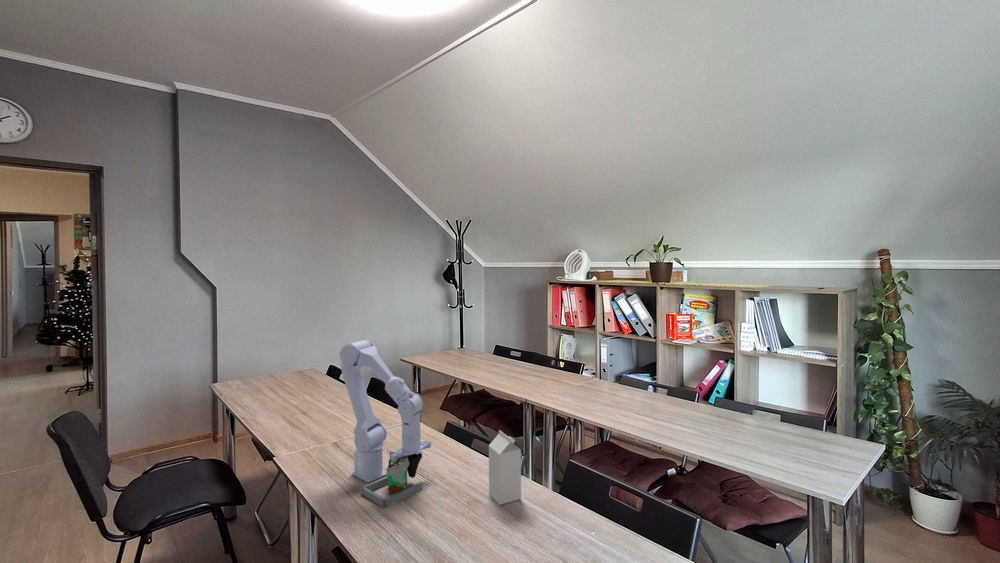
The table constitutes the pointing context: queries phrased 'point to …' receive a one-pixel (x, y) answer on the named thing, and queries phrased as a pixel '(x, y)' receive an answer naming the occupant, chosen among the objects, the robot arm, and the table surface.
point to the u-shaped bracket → (392, 499)
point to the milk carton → (504, 469)
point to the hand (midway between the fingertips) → (411, 476)
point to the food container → (397, 475)
